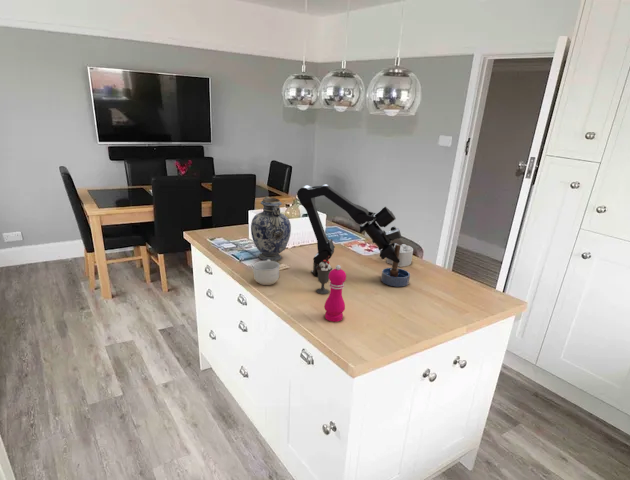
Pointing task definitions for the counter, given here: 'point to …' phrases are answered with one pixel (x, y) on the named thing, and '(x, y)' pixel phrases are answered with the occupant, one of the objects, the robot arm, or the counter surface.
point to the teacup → (266, 272)
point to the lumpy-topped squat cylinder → (403, 256)
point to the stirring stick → (394, 267)
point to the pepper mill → (335, 295)
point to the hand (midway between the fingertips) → (398, 261)
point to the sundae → (323, 275)
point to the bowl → (395, 278)
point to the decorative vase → (270, 230)
